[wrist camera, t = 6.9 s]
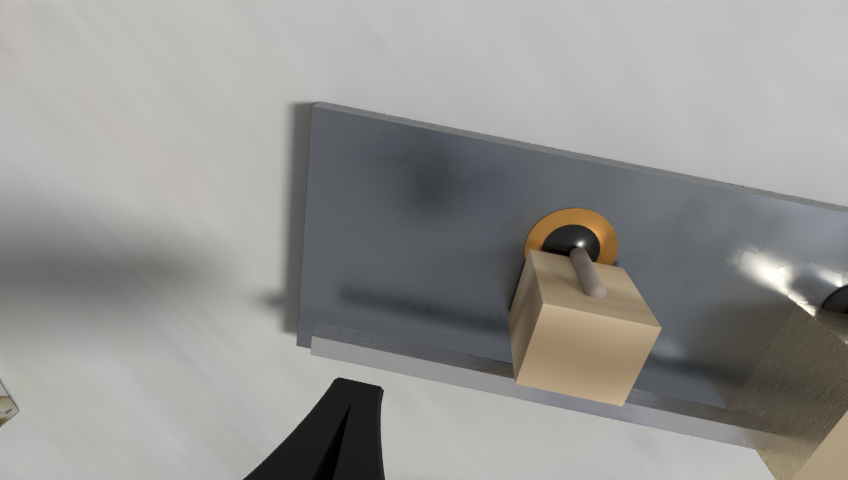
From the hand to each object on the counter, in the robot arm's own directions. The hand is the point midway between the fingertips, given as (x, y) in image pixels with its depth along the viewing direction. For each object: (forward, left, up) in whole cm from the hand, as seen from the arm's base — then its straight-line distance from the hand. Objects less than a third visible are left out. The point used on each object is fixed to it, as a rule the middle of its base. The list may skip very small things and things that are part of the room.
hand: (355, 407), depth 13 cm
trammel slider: (+1, -7, -8) cm, 11 cm away
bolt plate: (+1, -9, -9) cm, 13 cm away
